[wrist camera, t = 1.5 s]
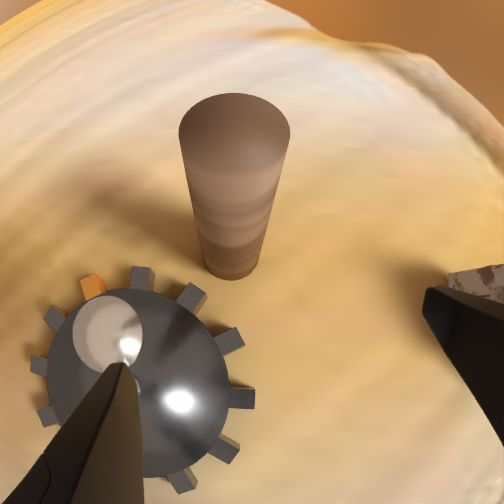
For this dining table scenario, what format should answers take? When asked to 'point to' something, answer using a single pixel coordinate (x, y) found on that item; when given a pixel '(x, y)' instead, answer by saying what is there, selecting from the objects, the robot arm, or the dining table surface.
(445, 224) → the dining table surface
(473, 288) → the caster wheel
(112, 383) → the robot arm
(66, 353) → the sprocket plate
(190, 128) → the brown cylinder
